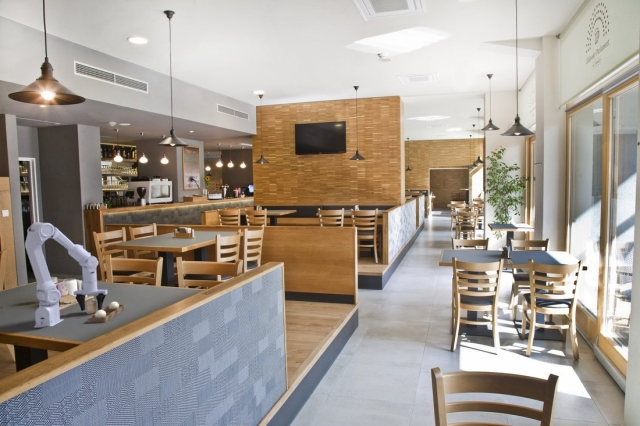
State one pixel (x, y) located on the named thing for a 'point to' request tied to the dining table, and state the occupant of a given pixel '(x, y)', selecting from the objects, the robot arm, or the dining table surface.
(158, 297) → the dining table surface
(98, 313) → the egg left
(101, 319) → the holder
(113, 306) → the egg right
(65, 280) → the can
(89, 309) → the beige jar
